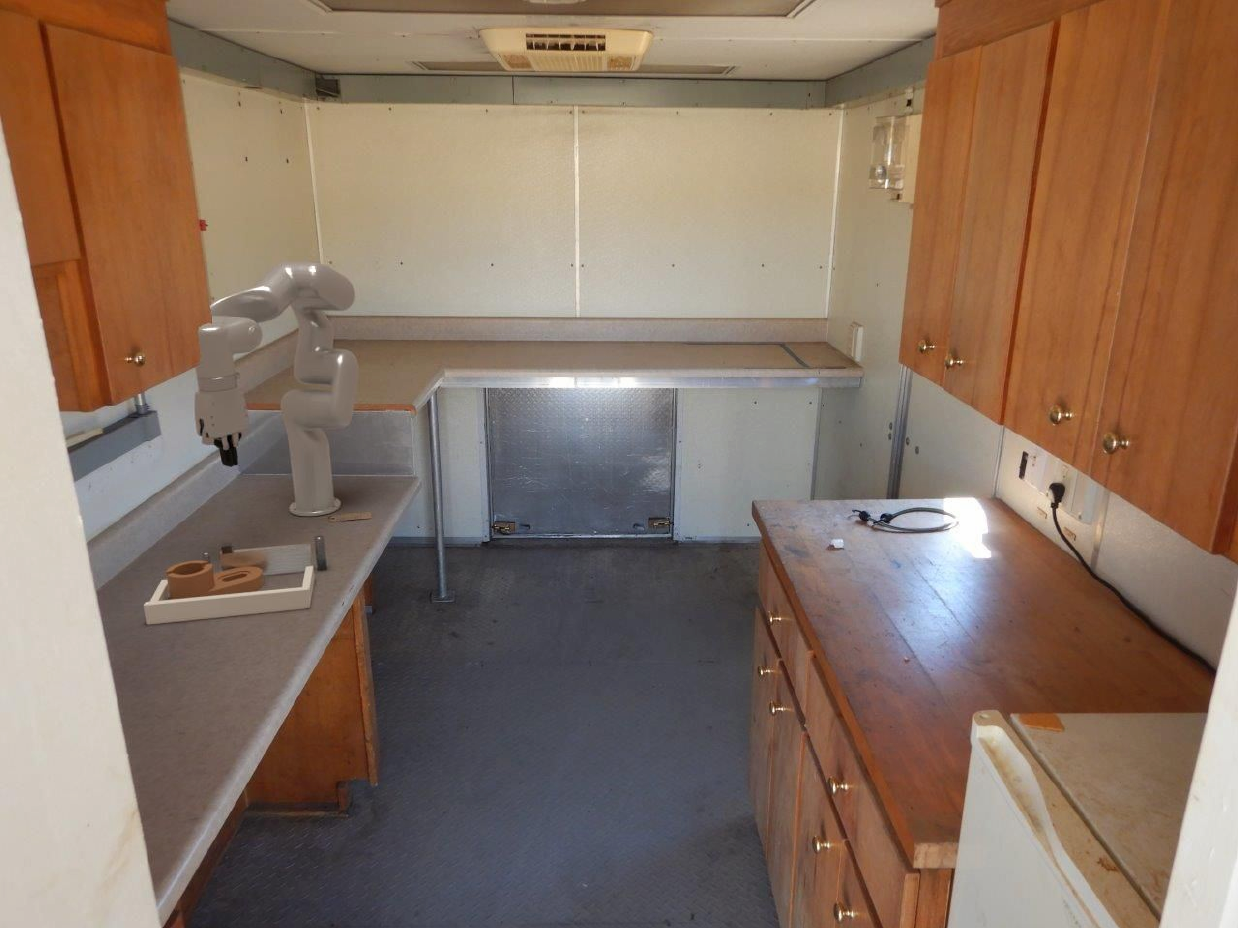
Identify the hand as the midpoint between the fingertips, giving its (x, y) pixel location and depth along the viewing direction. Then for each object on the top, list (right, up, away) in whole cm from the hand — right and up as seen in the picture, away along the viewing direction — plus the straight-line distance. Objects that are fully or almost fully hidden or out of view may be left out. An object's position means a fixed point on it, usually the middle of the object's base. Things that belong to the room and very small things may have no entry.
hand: (230, 464), depth 190 cm
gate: (+9, -24, -1) cm, 25 cm away
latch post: (-3, -24, -4) cm, 25 cm away
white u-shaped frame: (+7, -27, -12) cm, 31 cm away
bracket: (+2, -27, -10) cm, 29 cm away
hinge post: (+20, -23, +2) cm, 30 cm away
